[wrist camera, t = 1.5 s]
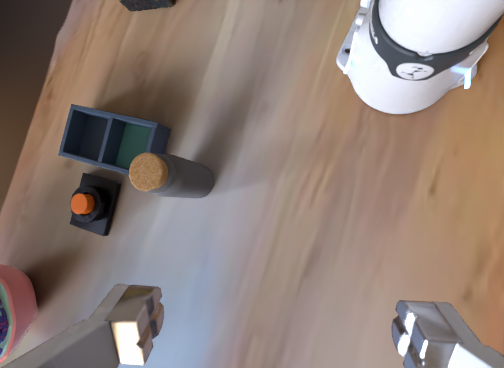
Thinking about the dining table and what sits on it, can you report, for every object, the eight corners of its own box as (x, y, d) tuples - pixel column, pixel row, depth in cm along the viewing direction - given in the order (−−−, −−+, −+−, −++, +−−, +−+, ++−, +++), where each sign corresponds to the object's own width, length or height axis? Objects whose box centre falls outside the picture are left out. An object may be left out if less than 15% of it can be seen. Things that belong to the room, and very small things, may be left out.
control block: (87, 173, 55) (74, 171, 52) (121, 183, 53) (109, 182, 50) (74, 223, 55) (60, 224, 52) (108, 235, 52) (95, 237, 50)
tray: (90, 111, 56) (71, 103, 51) (171, 129, 51) (157, 122, 47) (77, 158, 55) (57, 155, 51) (157, 180, 51) (142, 178, 47)
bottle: (193, 204, 49) (137, 204, 34) (177, 176, 50) (117, 164, 35) (220, 186, 48) (175, 178, 33) (204, 157, 49) (153, 138, 34)
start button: (81, 191, 52) (73, 191, 50) (97, 196, 51) (89, 196, 49) (76, 210, 52) (68, 211, 50) (92, 216, 51) (84, 216, 49)
